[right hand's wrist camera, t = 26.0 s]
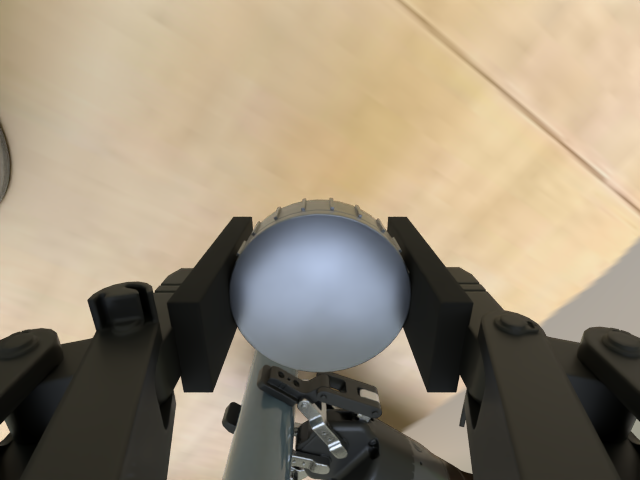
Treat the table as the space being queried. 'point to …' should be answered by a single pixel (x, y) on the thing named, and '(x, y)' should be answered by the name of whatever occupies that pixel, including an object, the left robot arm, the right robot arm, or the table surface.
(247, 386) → the blue-grey cylinder
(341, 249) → the grey domed jar lid
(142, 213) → the table surface
